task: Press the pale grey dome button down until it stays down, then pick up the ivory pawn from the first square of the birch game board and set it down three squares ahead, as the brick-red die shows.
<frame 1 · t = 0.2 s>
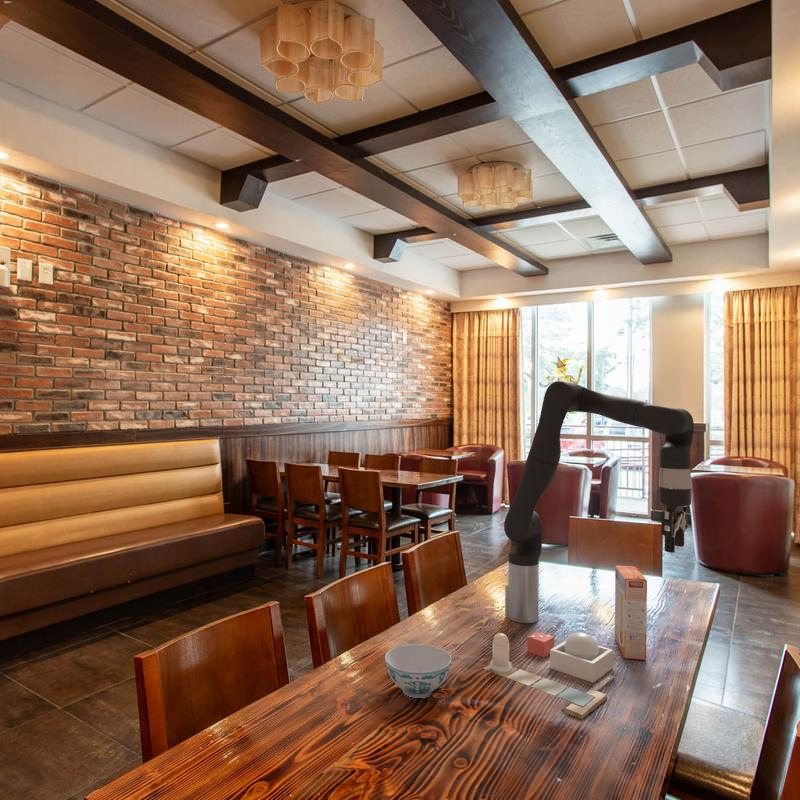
hand: (674, 549, 147), 29 cm above the table, tool pointing down, fingers open, 8 cm apart
die: (540, 656, 149), on the table
pawn: (500, 668, 139), point 1 cm above the table, touching board
dome: (581, 649, 140), point 5 cm above the table, slide at 0.0 cm
chinaware: (417, 692, 129), on the table
board: (536, 687, 132), on the table
cracker box: (630, 650, 154), on the table
button housing: (581, 672, 140), on the table
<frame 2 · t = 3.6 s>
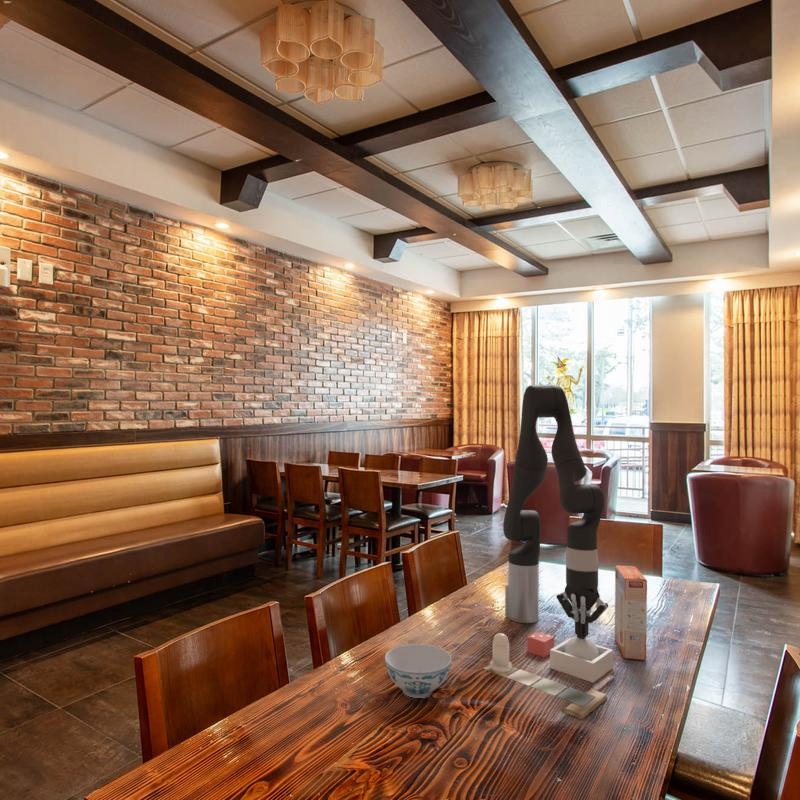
hand: (581, 637, 140), 9 cm above the table, tool pointing down, fingers closed
dome: (581, 653, 140), point 5 cm above the table, slide at 1.0 cm, touching gripper
everything else where it was.
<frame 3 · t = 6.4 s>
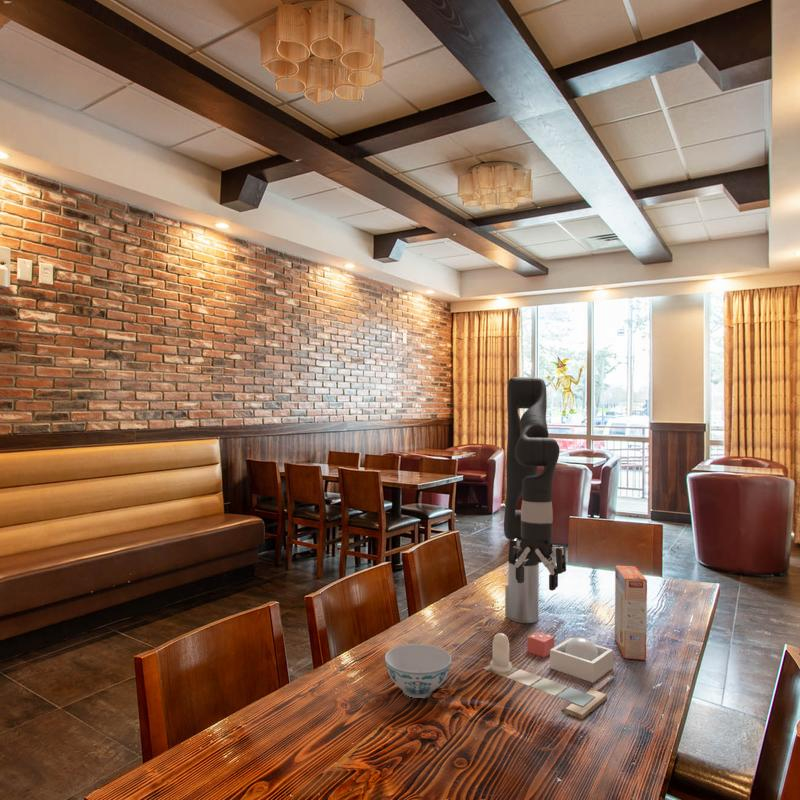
hand: (536, 586, 139), 21 cm above the table, tool pointing down, fingers open, 8 cm apart
dome: (581, 655, 140), point 4 cm above the table, slide at 1.3 cm
everything else where it was.
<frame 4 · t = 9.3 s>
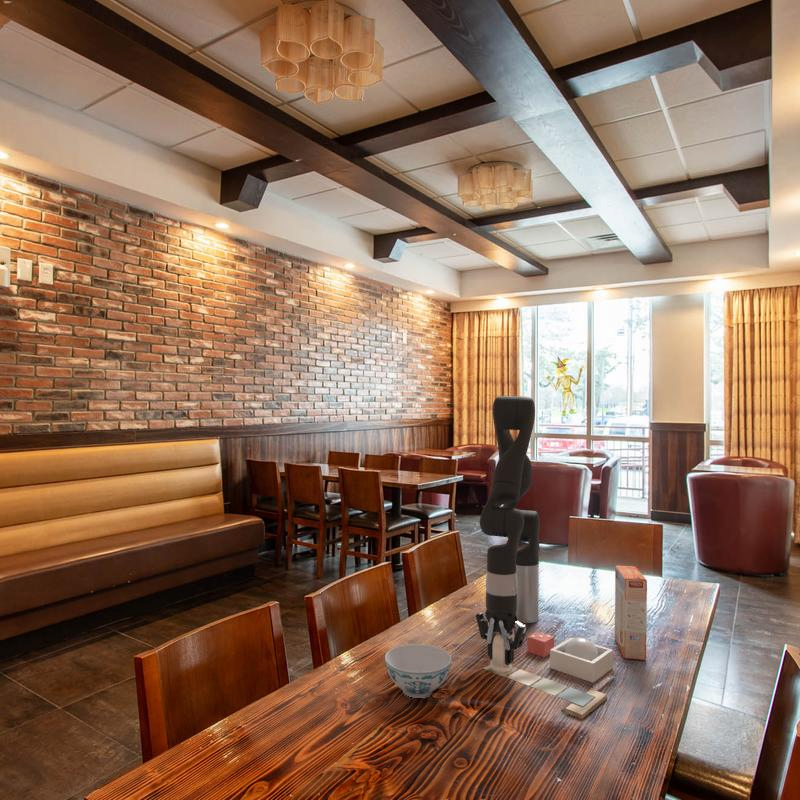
hand: (500, 660, 139), 3 cm above the table, tool pointing down, fingers closed on pawn, 4 cm apart
pawn: (500, 668, 139), point 1 cm above the table, touching board, gripper
everything else where it was.
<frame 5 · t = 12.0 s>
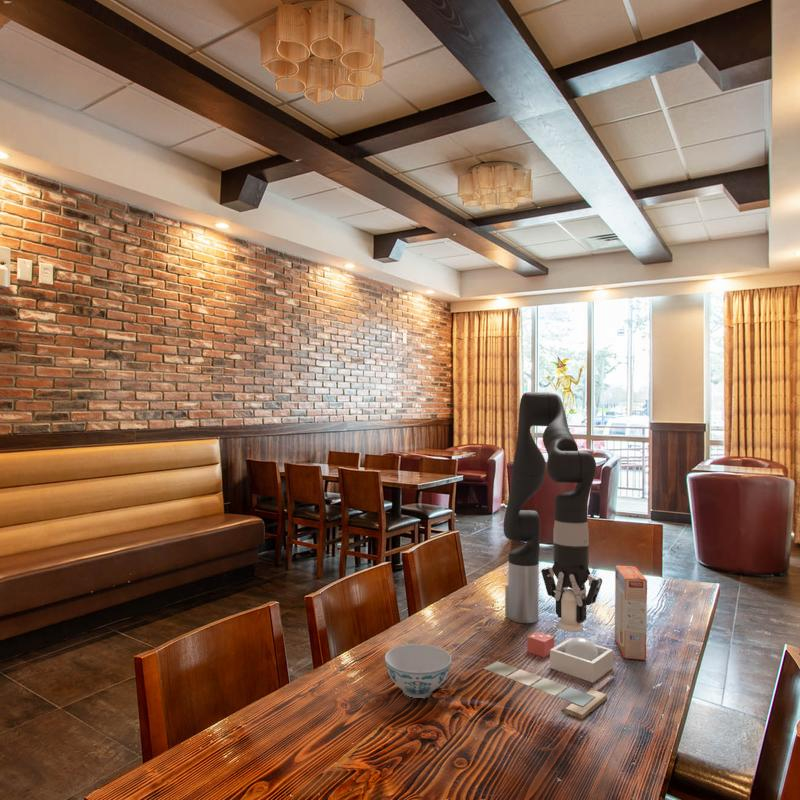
hand: (570, 619, 126), 18 cm above the table, tool pointing down, fingers closed on pawn, 4 cm apart
pawn: (570, 627, 126), point 16 cm above the table, touching gripper
everything else where it was.
when the fingers open (4 cm above the table, at t = 15.0 s): pawn stays where it is, resting on board.
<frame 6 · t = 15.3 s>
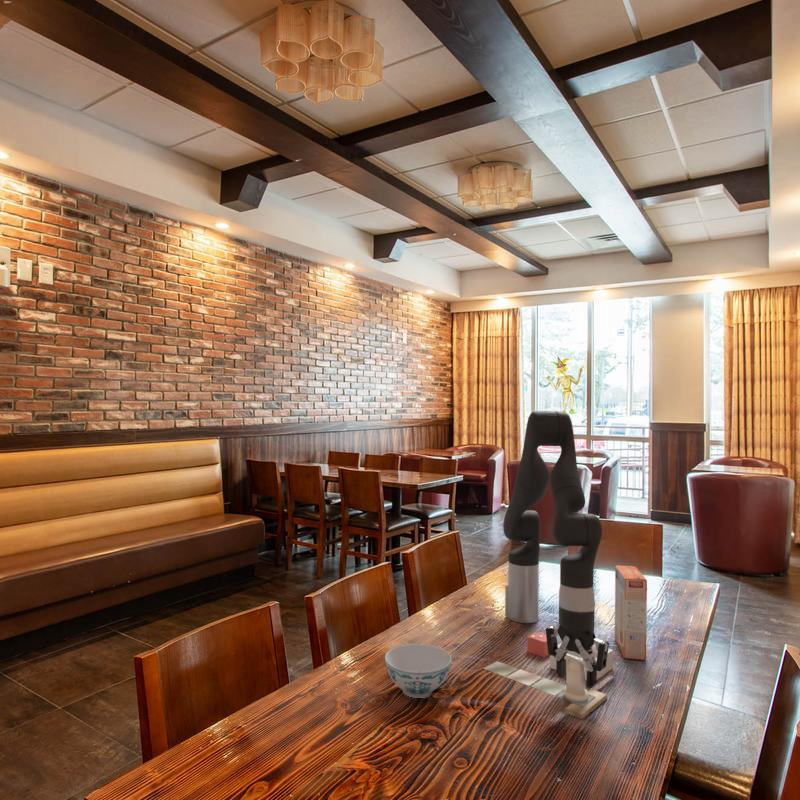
hand: (576, 681, 125), 4 cm above the table, tool pointing down, fingers open, 6 cm apart
pawn: (575, 696, 125), point 1 cm above the table, touching board
everything else where it was.
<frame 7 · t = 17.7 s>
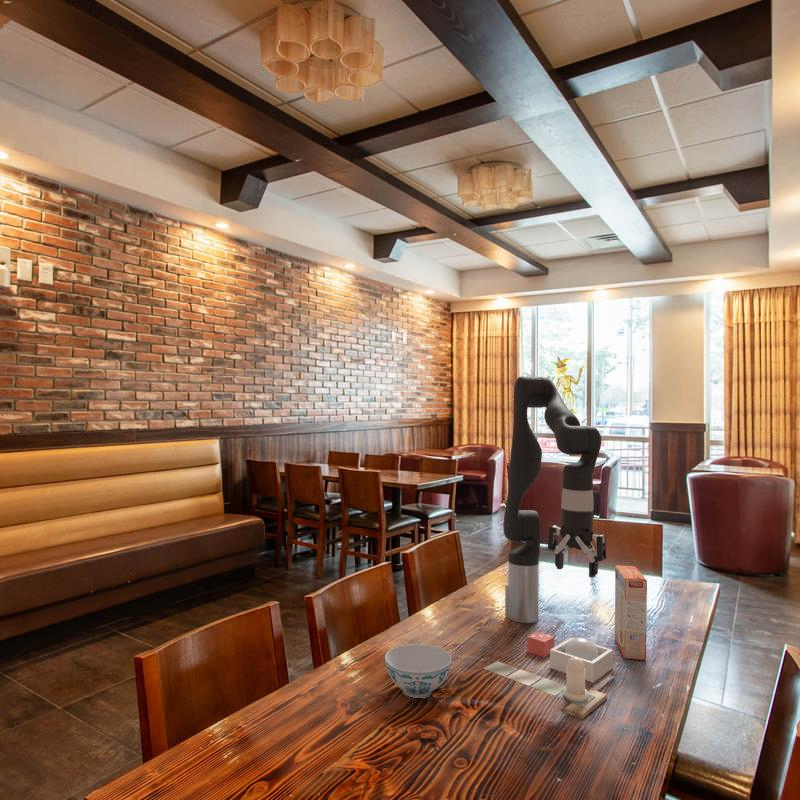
hand: (575, 572, 141), 24 cm above the table, tool pointing down, fingers open, 8 cm apart
nothing on the table moved.
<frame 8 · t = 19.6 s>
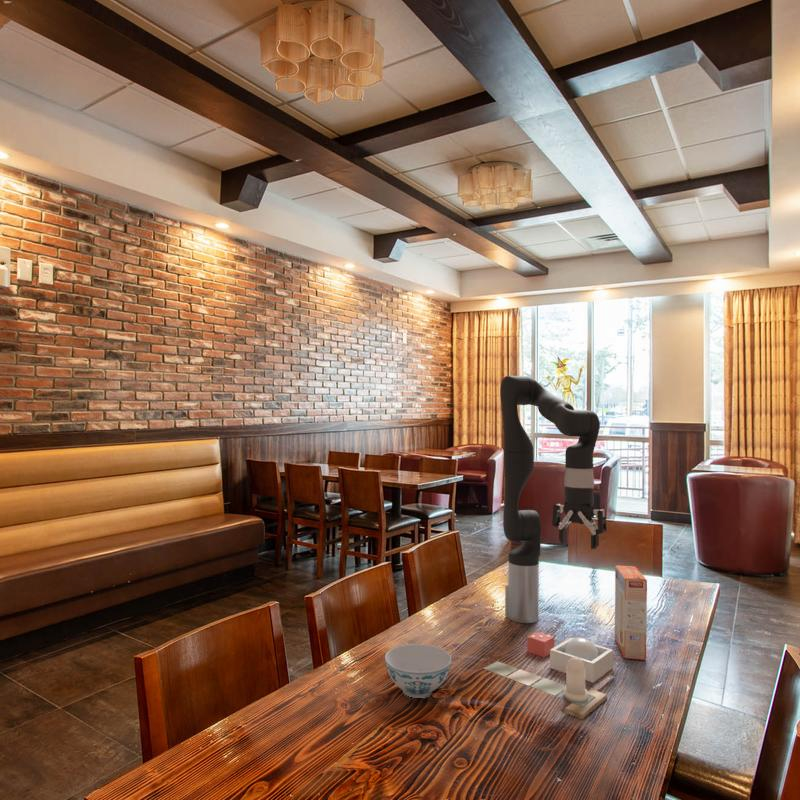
hand: (578, 546, 152), 28 cm above the table, tool pointing down, fingers open, 8 cm apart
nothing on the table moved.
at the end: dome slide at 1.3 cm; pawn 0.1 cm from the target spot on the board, point 1.2 cm above the board's base; pawn tilted 0° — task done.
